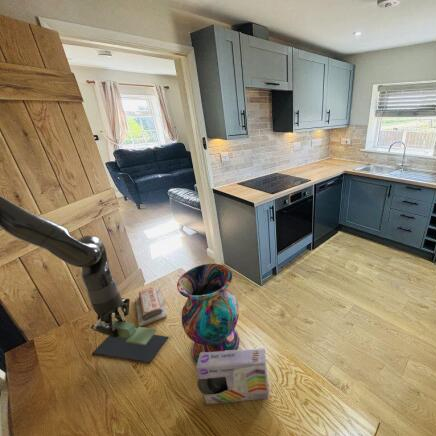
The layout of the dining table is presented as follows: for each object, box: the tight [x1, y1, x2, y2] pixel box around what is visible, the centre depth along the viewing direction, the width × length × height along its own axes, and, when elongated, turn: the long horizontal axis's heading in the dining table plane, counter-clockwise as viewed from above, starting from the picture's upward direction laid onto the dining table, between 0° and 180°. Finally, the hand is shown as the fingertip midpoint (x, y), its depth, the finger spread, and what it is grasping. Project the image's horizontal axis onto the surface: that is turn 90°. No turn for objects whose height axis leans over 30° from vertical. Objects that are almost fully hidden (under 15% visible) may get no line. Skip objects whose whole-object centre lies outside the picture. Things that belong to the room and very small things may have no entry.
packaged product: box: [134, 287, 168, 327], centre depth 101 cm, size 18×5×10 cm
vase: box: [176, 263, 240, 363], centre depth 80 cm, size 18×18×30 cm
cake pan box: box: [195, 347, 269, 405], centre depth 68 cm, size 19×5×18 cm, turn 94°
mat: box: [91, 334, 169, 364], centre depth 86 cm, size 22×10×1 cm, turn 82°
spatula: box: [102, 320, 157, 345], centre depth 83 cm, size 18×6×4 cm, turn 82°
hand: (119, 332), depth 84 cm, fingers closed on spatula, 3 cm apart
